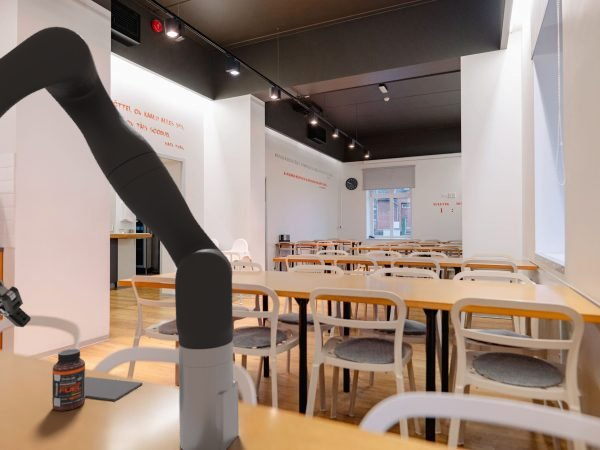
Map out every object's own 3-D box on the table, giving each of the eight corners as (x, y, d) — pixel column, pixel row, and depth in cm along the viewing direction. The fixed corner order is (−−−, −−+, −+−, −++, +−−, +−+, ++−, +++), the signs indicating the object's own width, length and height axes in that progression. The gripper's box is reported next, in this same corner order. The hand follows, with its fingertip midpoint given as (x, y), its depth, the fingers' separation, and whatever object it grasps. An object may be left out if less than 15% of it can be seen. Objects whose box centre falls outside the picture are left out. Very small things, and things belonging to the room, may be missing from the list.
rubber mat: (142, 384, 93) (142, 382, 93) (114, 401, 84) (114, 399, 84) (87, 378, 97) (87, 376, 97) (55, 393, 88) (55, 391, 88)
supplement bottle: (57, 415, 78) (57, 358, 78) (48, 406, 82) (48, 352, 82) (89, 404, 82) (89, 351, 82) (79, 396, 86) (79, 345, 86)
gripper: (-6, 242, 64) (62, 309, 74) (-50, 242, 69) (19, 305, 79) (-48, 276, 58) (31, 344, 69) (-92, 273, 64) (-13, 336, 74)
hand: (24, 323), depth 74 cm, fingers closed
